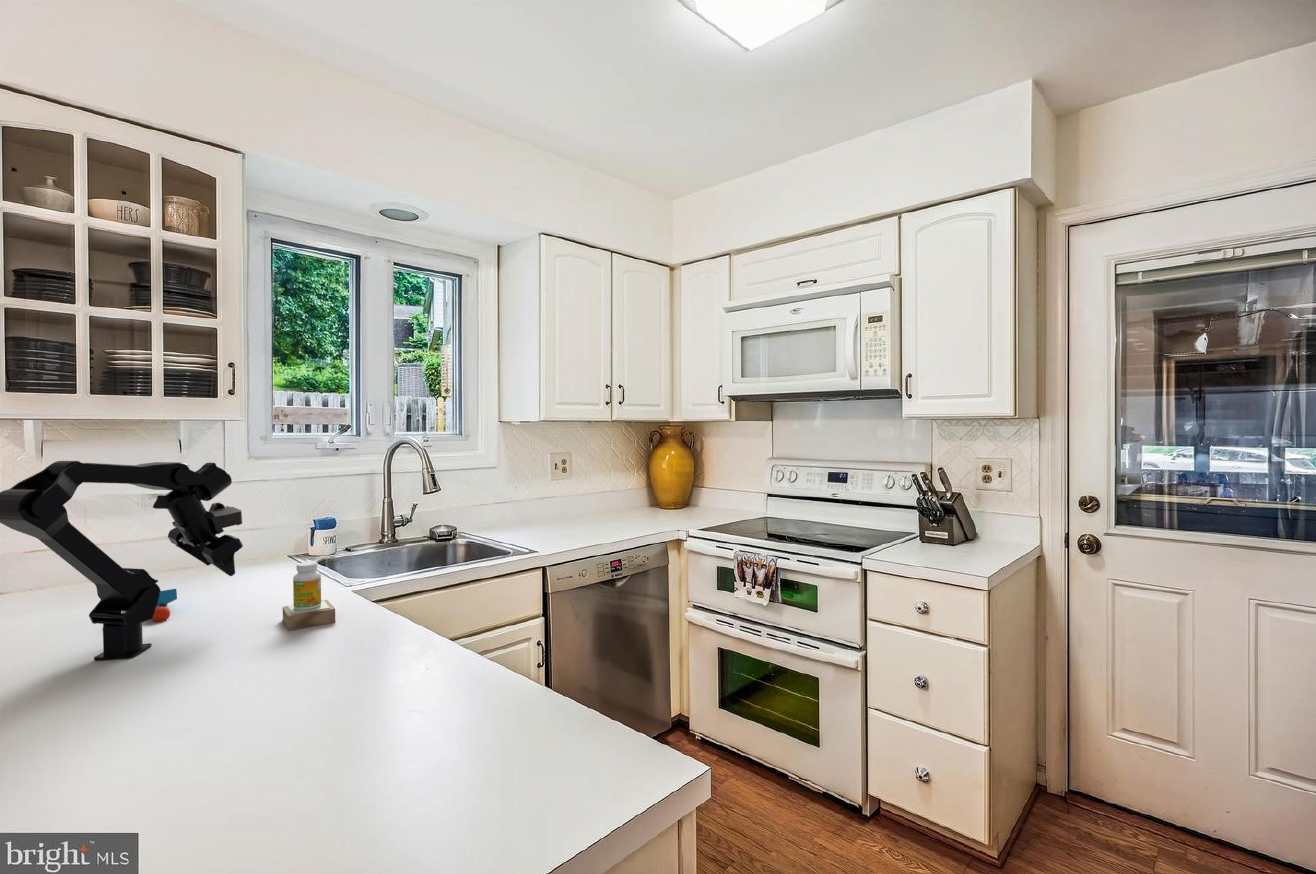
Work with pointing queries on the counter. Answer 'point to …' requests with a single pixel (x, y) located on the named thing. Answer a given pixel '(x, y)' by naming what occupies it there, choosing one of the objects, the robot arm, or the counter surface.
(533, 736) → the counter surface
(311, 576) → the supplement bottle
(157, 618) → the lever
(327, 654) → the counter surface
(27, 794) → the counter surface
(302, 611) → the base brick
